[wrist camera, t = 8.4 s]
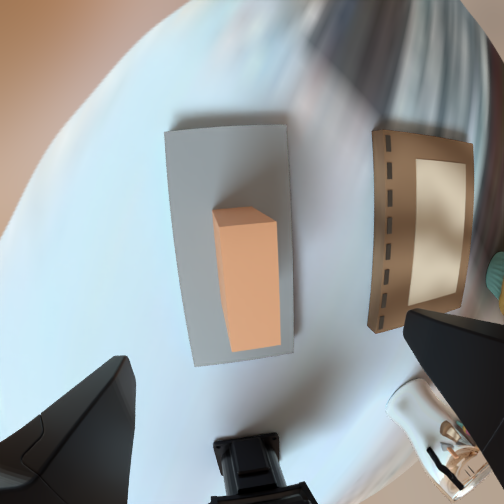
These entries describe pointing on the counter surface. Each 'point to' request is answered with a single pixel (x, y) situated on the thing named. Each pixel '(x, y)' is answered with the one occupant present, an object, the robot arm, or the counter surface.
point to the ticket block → (419, 225)
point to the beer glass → (438, 439)
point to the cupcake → (496, 278)
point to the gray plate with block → (233, 240)
